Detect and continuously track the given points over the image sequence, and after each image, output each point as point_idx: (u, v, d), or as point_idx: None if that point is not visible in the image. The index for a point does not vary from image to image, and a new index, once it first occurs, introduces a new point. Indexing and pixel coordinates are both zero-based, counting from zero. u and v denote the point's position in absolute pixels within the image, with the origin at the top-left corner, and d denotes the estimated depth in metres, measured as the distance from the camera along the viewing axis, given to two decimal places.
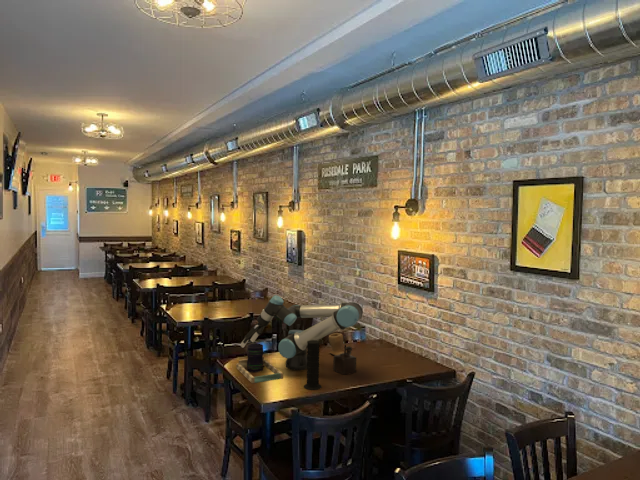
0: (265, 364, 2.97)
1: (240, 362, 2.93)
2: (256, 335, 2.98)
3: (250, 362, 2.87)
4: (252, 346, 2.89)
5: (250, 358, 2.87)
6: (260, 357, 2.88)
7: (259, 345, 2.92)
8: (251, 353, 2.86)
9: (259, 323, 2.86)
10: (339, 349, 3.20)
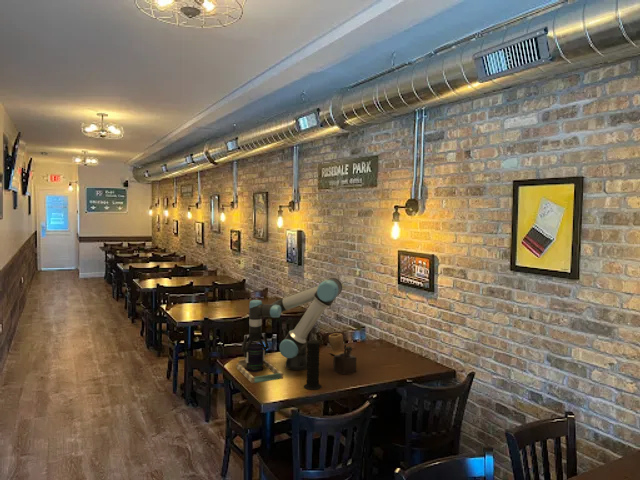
0: (265, 364, 2.97)
1: (240, 362, 2.93)
2: None
3: (250, 362, 2.87)
4: (252, 346, 2.89)
5: (250, 358, 2.87)
6: (260, 357, 2.88)
7: (259, 345, 2.92)
8: (251, 353, 2.86)
9: (249, 332, 2.88)
10: (339, 349, 3.20)
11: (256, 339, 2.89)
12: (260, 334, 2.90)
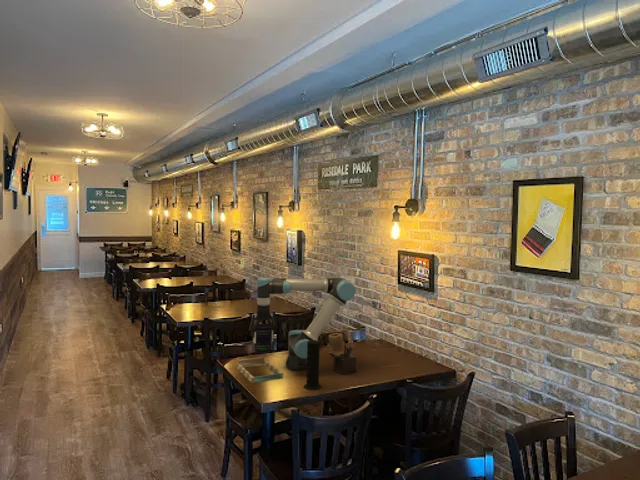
0: (265, 364, 2.97)
1: (240, 362, 2.93)
2: (271, 332, 2.79)
3: (258, 342, 2.74)
4: (260, 326, 2.76)
5: (258, 338, 2.74)
6: (268, 337, 2.75)
7: (267, 325, 2.79)
8: (259, 333, 2.73)
9: (257, 311, 2.75)
10: (339, 349, 3.20)
11: (264, 318, 2.76)
12: (268, 313, 2.77)
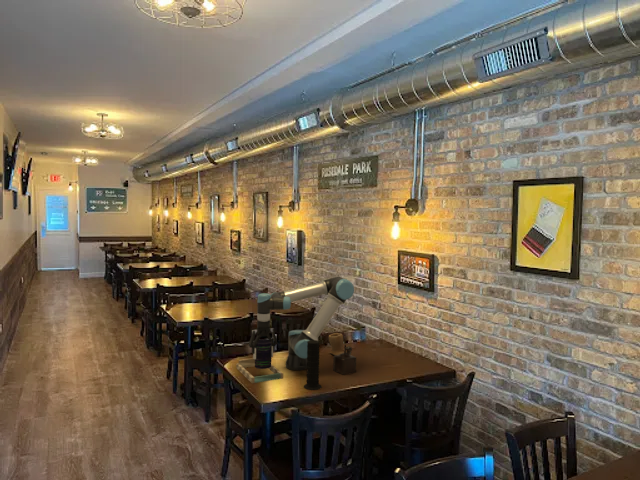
0: None
1: (240, 362, 2.93)
2: None
3: (258, 358, 2.74)
4: (260, 342, 2.77)
5: (258, 354, 2.74)
6: (268, 353, 2.75)
7: (267, 341, 2.79)
8: (259, 349, 2.73)
9: (257, 326, 2.75)
10: (339, 349, 3.20)
11: (264, 334, 2.77)
12: (268, 329, 2.78)
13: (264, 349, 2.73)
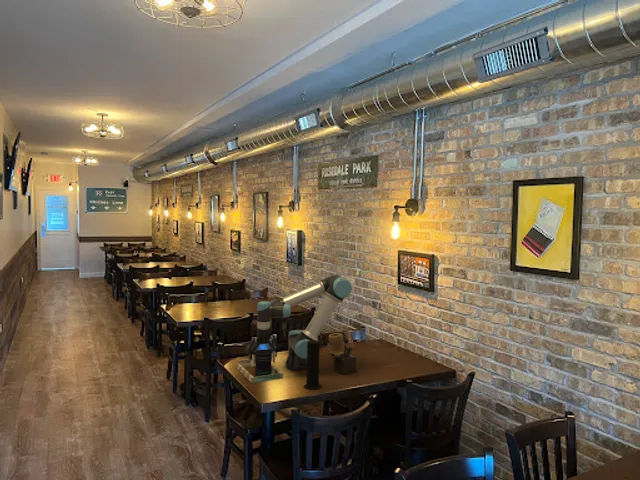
0: None
1: (240, 362, 2.93)
2: (273, 353, 2.81)
3: (258, 369, 2.74)
4: (260, 352, 2.77)
5: (258, 365, 2.74)
6: (269, 364, 2.76)
7: (268, 351, 2.79)
8: (259, 359, 2.74)
9: (257, 334, 2.76)
10: (339, 349, 3.20)
11: (264, 342, 2.77)
12: (268, 337, 2.78)
13: (264, 360, 2.74)
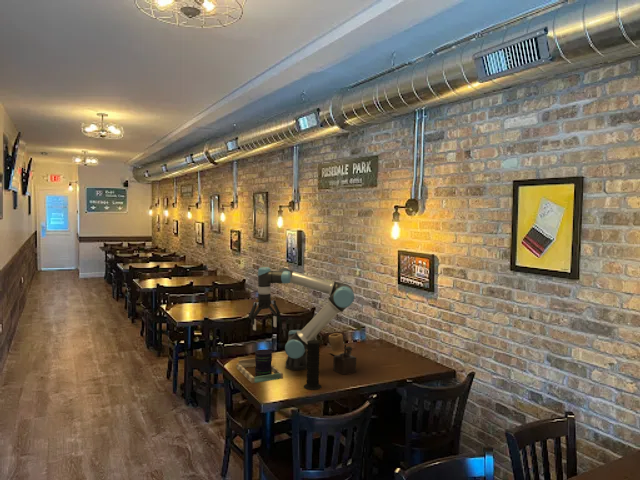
0: None
1: (240, 362, 2.93)
2: (274, 318, 2.87)
3: (258, 369, 2.74)
4: (260, 352, 2.77)
5: (258, 365, 2.74)
6: (269, 364, 2.76)
7: (268, 351, 2.79)
8: (259, 359, 2.74)
9: (258, 299, 2.82)
10: (339, 349, 3.20)
11: (266, 307, 2.83)
12: (269, 302, 2.84)
13: (264, 360, 2.73)
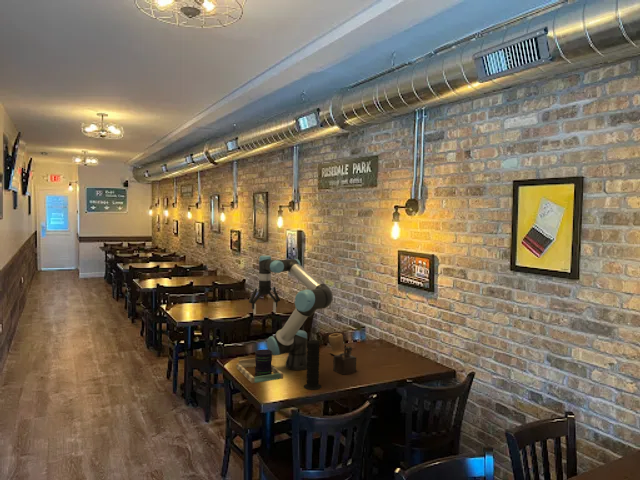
0: None
1: (240, 362, 2.93)
2: (274, 304, 3.03)
3: (258, 369, 2.74)
4: (260, 352, 2.77)
5: (258, 365, 2.74)
6: (269, 364, 2.76)
7: (268, 351, 2.79)
8: (259, 359, 2.74)
9: (259, 286, 2.98)
10: (339, 349, 3.20)
11: (266, 293, 3.00)
12: (269, 288, 3.01)
13: (264, 360, 2.74)
